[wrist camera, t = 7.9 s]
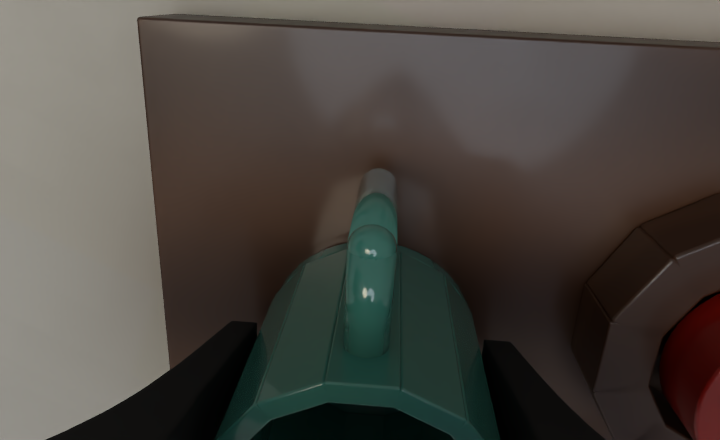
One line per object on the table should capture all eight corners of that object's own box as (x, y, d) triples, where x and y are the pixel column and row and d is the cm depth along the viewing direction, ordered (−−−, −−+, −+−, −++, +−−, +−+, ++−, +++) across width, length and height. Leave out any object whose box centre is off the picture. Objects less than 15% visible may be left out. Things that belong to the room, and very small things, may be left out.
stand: (753, 471, 18) (843, 593, 14) (203, 425, 19) (155, 529, 15) (919, 52, 13) (1120, 74, 10) (173, 13, 14) (93, 19, 10)
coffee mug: (462, 420, 15) (492, 628, 10) (270, 404, 16) (208, 600, 11) (499, 159, 13) (565, 268, 8) (265, 144, 13) (179, 240, 8)
